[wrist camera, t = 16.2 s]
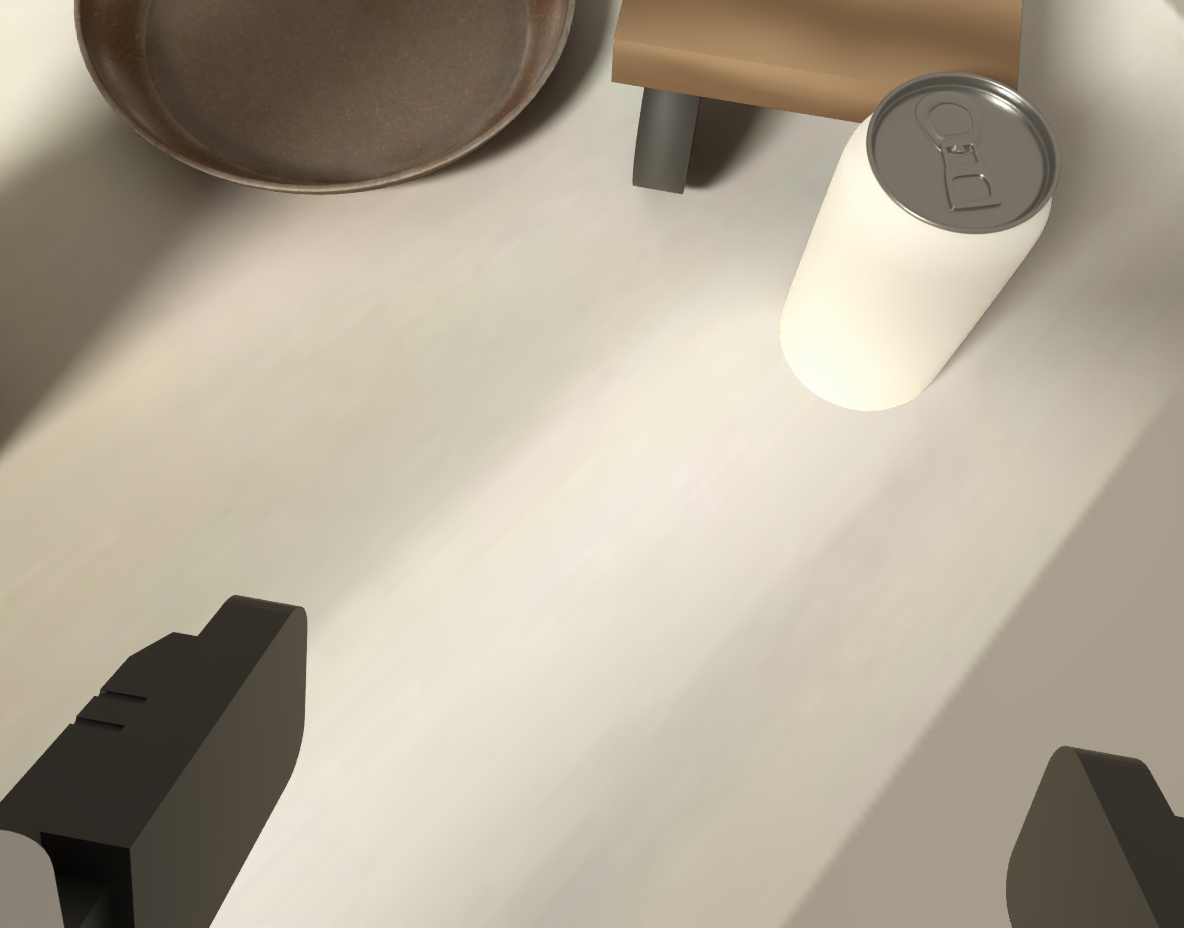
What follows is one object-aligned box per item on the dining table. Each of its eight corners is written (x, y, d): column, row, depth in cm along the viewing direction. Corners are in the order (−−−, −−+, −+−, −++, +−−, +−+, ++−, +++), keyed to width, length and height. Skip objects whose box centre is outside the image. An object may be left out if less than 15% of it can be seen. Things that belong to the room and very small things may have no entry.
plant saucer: (617, -94, 50) (621, -157, 47) (513, 278, 43) (509, 232, 40) (201, -168, 51) (177, -234, 48) (31, 182, 44) (-10, 130, 41)
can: (918, 261, 43) (1040, 49, 32) (958, 405, 41) (1105, 232, 30) (762, 278, 43) (830, 69, 31) (794, 425, 40) (880, 257, 29)
